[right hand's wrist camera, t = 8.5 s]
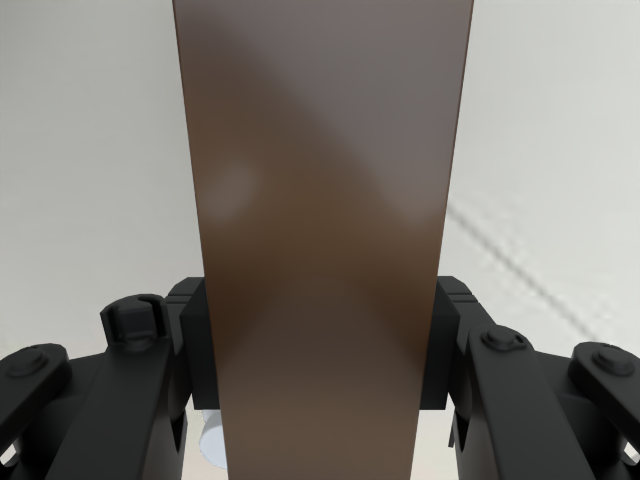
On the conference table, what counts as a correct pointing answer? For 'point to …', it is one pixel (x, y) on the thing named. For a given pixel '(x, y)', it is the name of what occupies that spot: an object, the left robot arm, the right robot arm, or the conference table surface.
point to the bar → (321, 220)
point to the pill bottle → (213, 439)
